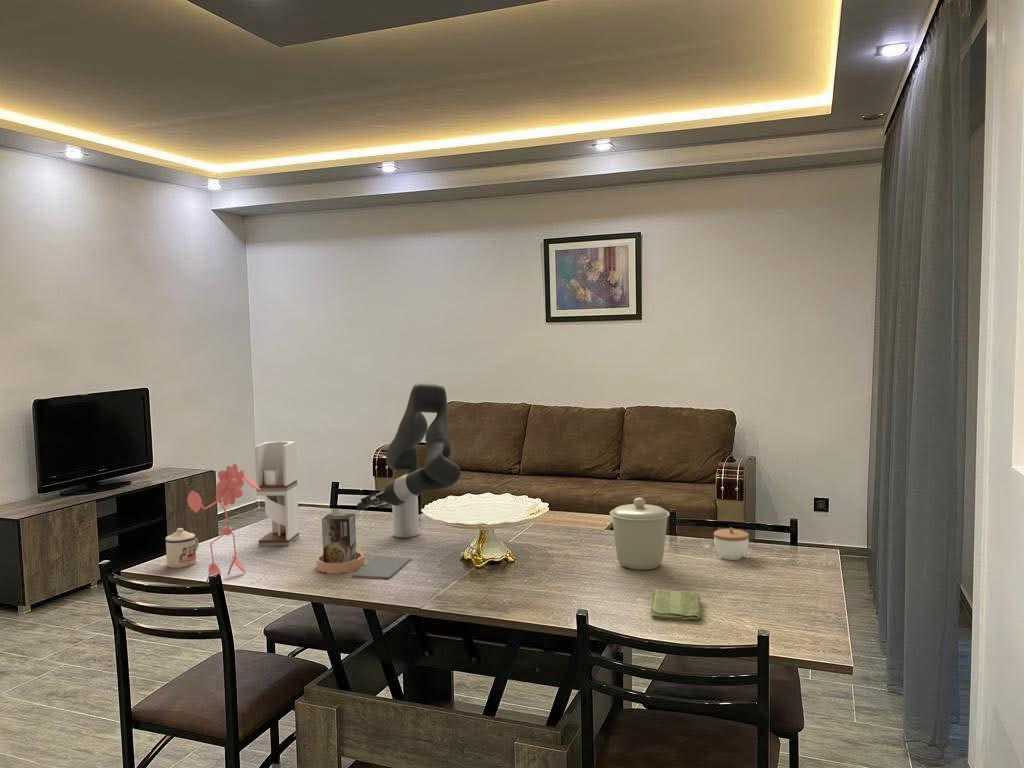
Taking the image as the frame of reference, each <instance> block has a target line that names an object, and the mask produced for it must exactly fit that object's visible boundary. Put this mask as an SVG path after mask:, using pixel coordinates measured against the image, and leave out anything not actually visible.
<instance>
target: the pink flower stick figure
mask: <svg viewBox="0 0 1024 768" xmlns="http://www.w3.org/2000/svg"><path fill="white" fill-rule="evenodd" d="M225 468H226V469H225V470H224V469H222V470H219V471H218V472H217V473H218V474H217V477H218V479H219V481H218V483H216V489H217V490H216V493H215V499H216V500H215V501H214V502H212V503H210V504H209V505H208V506H206V507H204V505H203V503H202V502H203V500H202V498H201V496H200V494H199V493H198V492H196V491H194V490H191V491H190V492H189V493H188V496H187V505H188V507H189V508H190V509H191V510H192V511H193V512H194V513H196V514H198V513H199V512H200V509H201V508H202V510H203V511H206V510H207V509H209V508H210V507H213V506H214V505H216V504H217V503H219V504H220V505H221V507H222V509H223V511H224V515H225V520H226V526H224V527H223V528H222V530H221V532H222V534H220V536H218V537H217V538H216V539H214V540H213V541H211V542H210V543H209V545H210V553H211V563H210V564H209V565H208V575H207V578H206V581H205V583H206V584H208V582H209V580H208V578H209V576H210V575H212V574H214V573H219V574H220V575H221V576H222V572H221V569H220V567H219V566H218V565H217V563H215V562H214V554H213V545H212V544H214V542H216V541H217V540H219V539H220V538H222V537H223V536H229V535H232V538H233V539H232V540H233V549H234V550H233V551H234V554H232V555H231V557H232V561H231V564H230V567H229V568H228V572H227V574H228V575H229V574H230V573H231V571H232V568H233V565H234V564H235V565H236V566H237V568H238V569H240V571H241V572H243V573H244V574H246V573H247V572H246V570H245V567H244V565H243V563H242V562H241V560H240V559H239V558H238V557H237V553H236V552H237V551H236V541H235V539H236V538H235V534H234V532H233V529H232V527H231V526H229V518H228V512H227V509H226V508H225V507H227V506H229V504H230V505H234V504H235V503H236V499H237V498H242V497H243V495H244V492H243V490H242V487H243V486H244V484H245V481H246V483H248V484H249V485H250V486H251V487H253V488H254V489H255V490H256V489H258V490H260V491H261V489H260V488H259V486H258V485H257V484H256V482H255V481H254V480H253V479H252V478H251V477H249V476H248V475H246V474H245V472H244V470H243V469H241V470H239V467H238V464H237V463H236V462H235V463H233V465H230V464H229V465H227V466H226V467H225ZM263 573H265V571H263ZM209 579H210V578H209ZM242 587H243V585H241V586H240V588H242Z"/></svg>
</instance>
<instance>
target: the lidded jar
mask: <svg viewBox="0 0 1024 768" xmlns="http://www.w3.org/2000/svg"><path fill="white" fill-rule="evenodd" d="M749 538H750V534H749V533H748V531H744V530H742V529H735V528H733V527H729V528H724V529H723V528H722V529H717V530H714V532H713V540H714V541H713V542H714V547H715V550H716V551H717V553H718V555H720V556H721V558H722V559H724V560H729V561H738V560H741V559H742V557H743V556H745V555H746V553H747V551H748V548H749V543H750V542H749V541H750V540H749Z"/></svg>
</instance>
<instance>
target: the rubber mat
mask: <svg viewBox="0 0 1024 768" xmlns="http://www.w3.org/2000/svg"><path fill="white" fill-rule="evenodd" d="M411 561H412V557H399V556H397V557H395V556H375V557H374V558H372V559H370V561H368V562H367V563H365V564H364V566H363V567H362V568H360V569H358V570H355V572H354V573H352V574H351V575H350V576H351V577H350V578H359V577H361V578H363V579H379V580H380V579H383V580H390V579H391V578H392V577H393V576H394V575H396V574H397V573H398V572H399V571H401V569H402V568H403V567H405V566H406V565H407V564H408V563H410V562H411ZM361 578H360V579H361Z"/></svg>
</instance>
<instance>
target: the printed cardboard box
mask: <svg viewBox="0 0 1024 768" xmlns="http://www.w3.org/2000/svg"><path fill="white" fill-rule="evenodd" d="M321 532H322V536H321V537H322V549H323V550H322V554H323V558H324V562H326V563H341V562H349V561H352V560H356V559H357V555H356V551H357V536H356V534H357V533H356V532H357V531H356V514H355V513H328V514H326V515H324V517H322V518H321Z"/></svg>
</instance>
